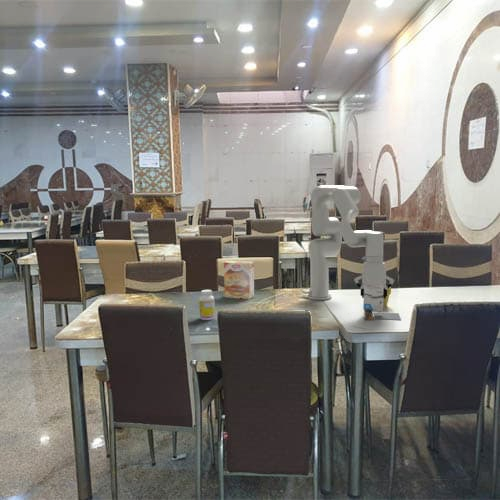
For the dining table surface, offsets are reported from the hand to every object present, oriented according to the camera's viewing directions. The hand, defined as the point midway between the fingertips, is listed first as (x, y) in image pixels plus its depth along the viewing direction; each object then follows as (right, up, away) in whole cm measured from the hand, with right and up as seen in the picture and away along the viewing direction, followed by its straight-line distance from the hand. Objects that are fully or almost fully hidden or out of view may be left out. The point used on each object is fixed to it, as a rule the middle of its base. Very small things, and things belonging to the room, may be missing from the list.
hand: (373, 297), depth 203 cm
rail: (-2, -8, +1) cm, 9 cm away
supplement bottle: (-75, -10, +2) cm, 75 cm away
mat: (+6, -8, 0) cm, 10 cm away
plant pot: (+8, -6, +18) cm, 21 cm away
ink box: (0, -6, +1) cm, 6 cm away
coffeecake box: (-61, -5, +45) cm, 76 cm away
